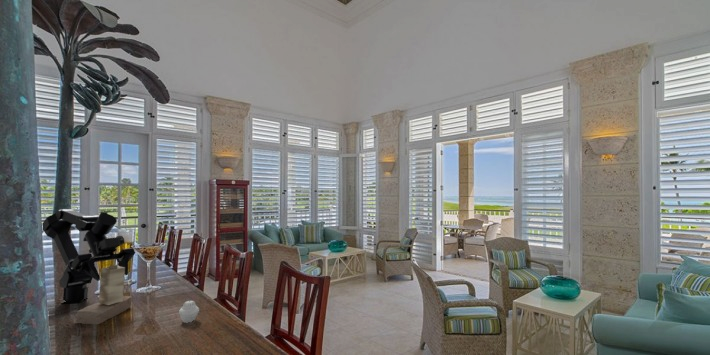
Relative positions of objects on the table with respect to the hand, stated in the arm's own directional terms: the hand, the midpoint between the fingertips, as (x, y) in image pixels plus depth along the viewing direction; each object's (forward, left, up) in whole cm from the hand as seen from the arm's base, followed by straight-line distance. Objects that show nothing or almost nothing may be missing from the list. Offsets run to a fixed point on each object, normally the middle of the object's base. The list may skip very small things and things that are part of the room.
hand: (113, 277), depth 121 cm
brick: (-1, -1, -13) cm, 13 cm away
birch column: (0, -1, -8) cm, 9 cm away
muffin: (+28, -12, -13) cm, 33 cm away
